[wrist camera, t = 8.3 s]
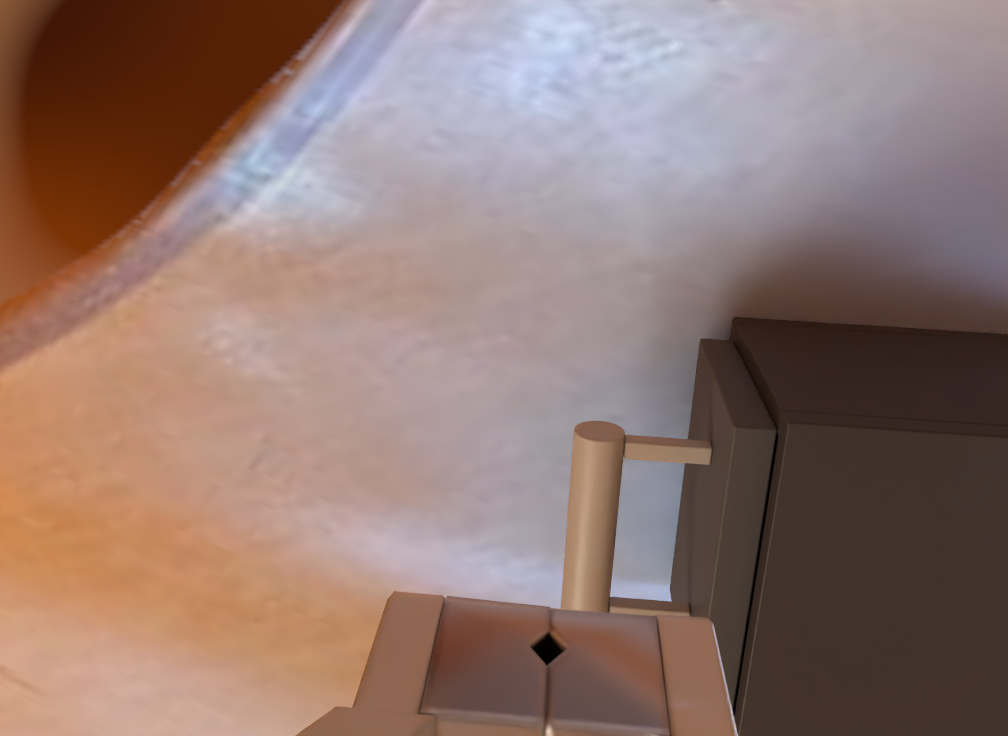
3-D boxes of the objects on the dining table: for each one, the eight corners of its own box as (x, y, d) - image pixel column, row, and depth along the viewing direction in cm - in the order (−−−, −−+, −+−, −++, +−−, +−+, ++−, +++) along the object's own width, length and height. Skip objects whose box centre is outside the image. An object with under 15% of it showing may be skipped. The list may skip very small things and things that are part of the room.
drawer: (559, 580, 37) (554, 717, 30) (578, 330, 33) (577, 415, 26) (1023, 617, 36) (1136, 768, 28) (1093, 362, 32) (1244, 460, 25)
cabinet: (696, 591, 38) (732, 769, 29) (732, 316, 34) (788, 421, 25) (1069, 621, 37) (1228, 813, 28) (1152, 342, 33) (1369, 461, 24)
